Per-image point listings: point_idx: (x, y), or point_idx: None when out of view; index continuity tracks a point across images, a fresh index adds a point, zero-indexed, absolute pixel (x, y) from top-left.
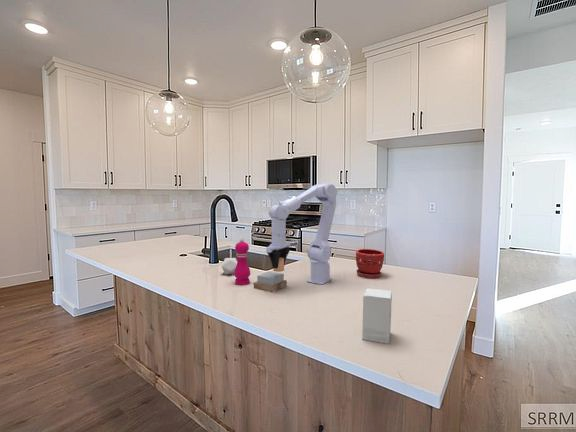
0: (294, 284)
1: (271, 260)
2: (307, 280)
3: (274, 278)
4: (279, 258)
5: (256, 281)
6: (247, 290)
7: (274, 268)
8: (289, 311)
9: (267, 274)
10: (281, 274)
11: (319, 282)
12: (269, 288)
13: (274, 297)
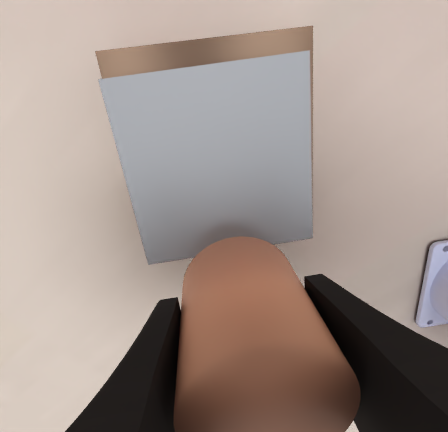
0: (352, 220)
1: (115, 385)
2: (440, 247)
3: (172, 257)
4: (269, 426)
5: (136, 47)
6: (38, 62)
7: (182, 298)
8: (44, 420)
9: (208, 135)
10: (287, 235)
11: (431, 310)
12: None
13: (102, 288)
